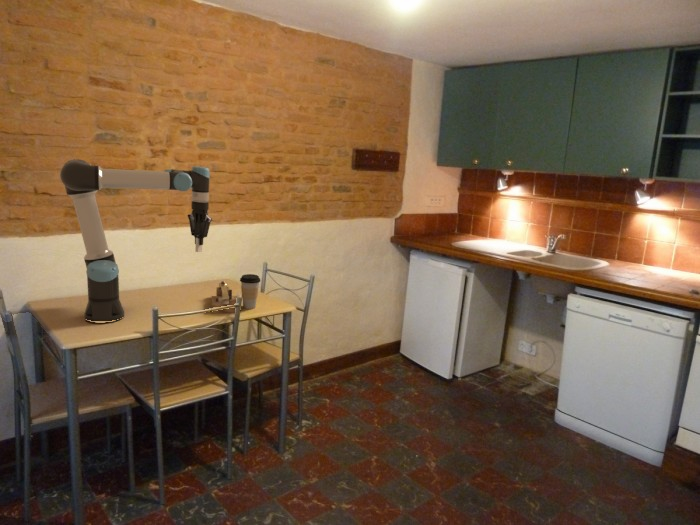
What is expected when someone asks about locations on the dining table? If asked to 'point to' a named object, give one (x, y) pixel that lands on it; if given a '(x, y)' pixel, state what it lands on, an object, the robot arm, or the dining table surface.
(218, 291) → the jamb block
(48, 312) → the dining table surface
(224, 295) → the latch bar
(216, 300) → the tan stepped block
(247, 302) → the coffee cup
